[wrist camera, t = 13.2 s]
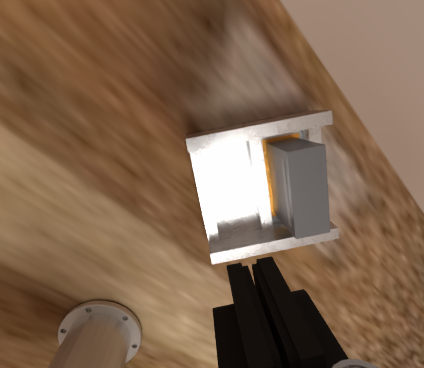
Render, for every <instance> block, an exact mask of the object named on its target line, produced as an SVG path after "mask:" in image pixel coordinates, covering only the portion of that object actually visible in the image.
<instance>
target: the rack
mask: <svg viewBox="0 0 424 368" xmlns="http://www.w3.org/2000/svg"><path fill="white" fill-rule="evenodd" d="M330 124H333V122H332V110H317V111H304V112H299V113H294V114H289V115H284V116H278V117H273V118H268V119H263V120H258V121H253V122H248V123H243V124H238V125H233V126H228V127H222V128H217V129H212V130H207V131H202V132H197V133H192V134H187V135H186V144H187V148H188V152H190V157H191V162H192V166H193V171H194V176H195V180H196V185H197V190H198V195H199V199H200V204H201V209H202V213H203V218H204V223H205V227H206V232H207V237H208V242H209V249H210V256H211V261H212V264H217V263H222V262H226V261H231V260H236V259H241V258H246V257H251V256H256V255H261V254H265V253H270V252H275V251H280V250H285V249H290V248H295V247H299V246H304V245H309V244H314V243H319V242H324V241H329V240H334V239H338V238H339V229H338V227H337V226H335V225H334V224H333V223H332V222H330V233H325V234H320V235H315V236H310V237H305V238H300V239H295V238H294V236H293V235H292V234H291V233H290V231H289V230H288V229H287V228H286V227H285V225H284V224H283V223H282V222H281V220H280V219H279V218H278V217H277V215H276V214H275V213H274V205H273V197H272V189H271V181H270V173H269V165H268V157H267V149H266V143H269V142H274V141H279V140H284V139H289V138H294V137H296V138H300V139H304V140H308V141H312V142H316V143H320V144H322V143H321V129H320V126H325V125H330Z"/></svg>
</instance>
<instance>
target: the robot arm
mask: <svg viewBox="0 0 424 368" xmlns="http://www.w3.org/2000/svg"><path fill="white" fill-rule="evenodd" d="M252 270H253V276H254V282H255V285H254V282H253V279H252V276H251V274H250V271H249V268H248V266H243V267H242V264H241V263H237V264H232V265H227V271H228V276H229V281H230V286H231V291H232V296H233V302H234V304H231V305H226V306H221V307H216V308H213V318H214V328H215V338H216V348H217V358H218V368H378V367H376V366H374V365H373V364H371V363H368V362H365V361H362V360H357V359H348V357H347V355H346V354H345V352H344V351H343V349H342V347H341V346H340V344H339V343H338V341H337V340H336V338H335V336H334V335H333V333H332V332H331V330H330V328H329V327H328V325H327V324H326V322H325V321H324V319H323V317H322V316H321V314H320V313H319V311H318V309H317V308H316V306H315V305H314V303H313V301H312V300H311V298H310V297H309V295H308V294H307V292H306V291H305V290H304V289H303V290H298V291H293V292H291V291H290V289H289V287H288V285H287V284H286V282H285V280H284V278H283V276H282V274H281V273H280V271H279V269H278V267H277V265H276V263H275V261H274V260H273V258H272V257H266V258H261V259H257V264H252ZM141 339H142V329H141V326H140V323H139V321H138V319H137V318H136V316H135V315H134V314H133V313H132V312H131V311H129V310H128V309H127V308H125V307H123V306H121V305H119V304H116V303H113V302H109V301H91V302H86V303H83V304H80V305H78V306H77V307H75V308H73V309H72V310H71V311H70V312H68V314H67V315H66V316H65V317H64V319H63V321H62V322H61V324H60V326H59V329H58V342H59V345H60V347H59V349H58V350H57V352H56V354H55V356H54V357H53V359H52V361H51V363H50V365H49V366H48V368H124V366H125V363H127V362H128V361H129V360H131V359H132V358H133V357H134V355H135V354H136V353H137V351H138V349H139V347H140V343H141Z"/></svg>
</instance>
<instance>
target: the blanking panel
mask: <svg viewBox="0 0 424 368" xmlns="http://www.w3.org/2000/svg"><path fill="white" fill-rule="evenodd" d="M266 149H267V157H268V165H269V173H270V181H271V189H272V197H273V205H274V213H275V214H276V215H277V217H278V218H279V219H280V220H281V222H282V223H283V224H284V225H285V227H286V228H287V229H288V230H289V231H290V233H291V234H292V235H293V236H294V238H295V239H300V238H305V237H310V236H315V235H320V234H325V233H330V216H329V200H328V183H327V167H326V151H325V145H324V144H320V143H316V142H312V141H308V140H304V139H300V138H296V137H294V138H289V139H284V140H279V141H274V142H269V143H266Z"/></svg>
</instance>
